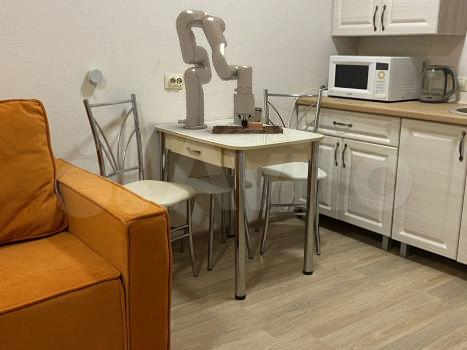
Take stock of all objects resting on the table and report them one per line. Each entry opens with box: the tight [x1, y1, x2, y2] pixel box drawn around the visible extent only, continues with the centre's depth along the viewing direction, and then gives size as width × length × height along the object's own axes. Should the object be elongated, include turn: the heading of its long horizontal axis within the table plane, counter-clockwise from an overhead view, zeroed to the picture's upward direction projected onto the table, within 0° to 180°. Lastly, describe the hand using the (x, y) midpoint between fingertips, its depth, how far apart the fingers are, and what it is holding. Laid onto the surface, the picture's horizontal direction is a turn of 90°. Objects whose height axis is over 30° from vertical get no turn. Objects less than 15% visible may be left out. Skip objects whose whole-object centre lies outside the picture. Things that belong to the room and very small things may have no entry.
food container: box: [243, 106, 263, 126], centre depth 279 cm, size 12×6×10 cm, turn 84°
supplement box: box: [233, 92, 242, 126], centre depth 287 cm, size 10×9×17 cm
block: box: [248, 121, 264, 129], centre depth 262 cm, size 7×7×4 cm
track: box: [211, 125, 284, 135], centre depth 261 cm, size 35×12×2 cm, turn 90°
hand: (244, 127), depth 261 cm, fingers closed
